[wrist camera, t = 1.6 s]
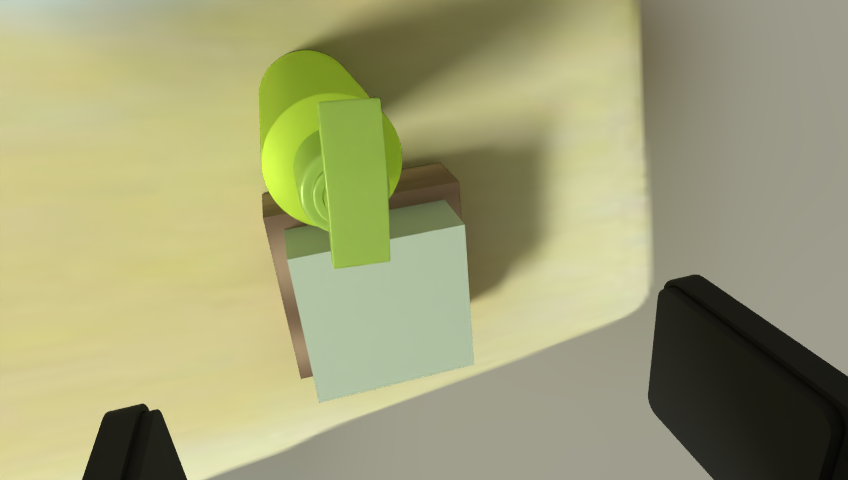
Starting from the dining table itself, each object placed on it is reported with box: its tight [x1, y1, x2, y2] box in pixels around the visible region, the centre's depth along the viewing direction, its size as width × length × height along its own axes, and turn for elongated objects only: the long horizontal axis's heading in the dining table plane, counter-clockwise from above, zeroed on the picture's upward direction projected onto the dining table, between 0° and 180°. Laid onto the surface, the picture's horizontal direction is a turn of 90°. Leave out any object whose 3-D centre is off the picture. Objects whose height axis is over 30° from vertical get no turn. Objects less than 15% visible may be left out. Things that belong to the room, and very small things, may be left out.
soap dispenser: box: [259, 50, 402, 269], centre depth 27 cm, size 6×7×20 cm
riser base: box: [262, 163, 461, 379], centre depth 40 cm, size 12×12×4 cm
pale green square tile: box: [284, 200, 474, 403], centre depth 36 cm, size 10×10×4 cm
